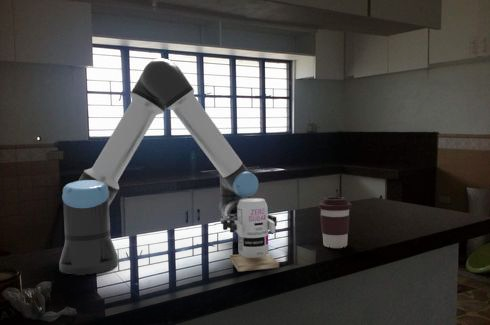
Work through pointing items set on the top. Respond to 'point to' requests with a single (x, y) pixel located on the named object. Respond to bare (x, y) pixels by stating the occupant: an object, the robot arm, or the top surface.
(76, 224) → the robot arm
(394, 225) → the top surface
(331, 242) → the coffee cup
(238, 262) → the trivet
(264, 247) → the supplement can
